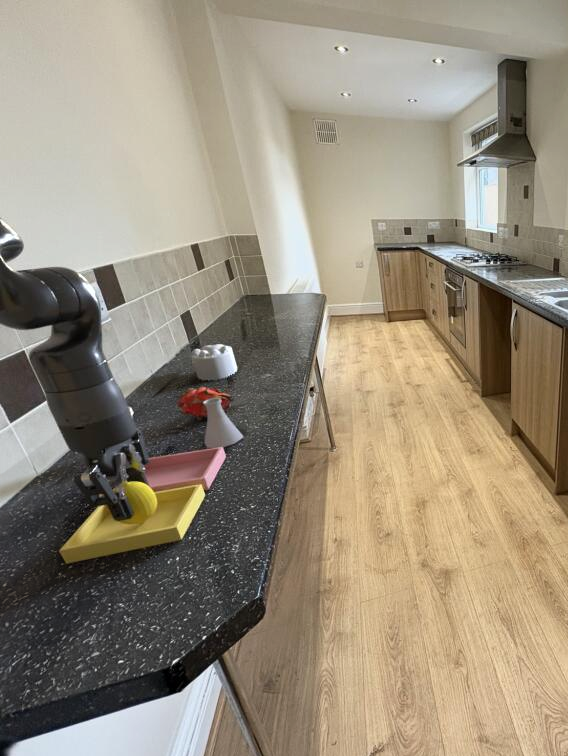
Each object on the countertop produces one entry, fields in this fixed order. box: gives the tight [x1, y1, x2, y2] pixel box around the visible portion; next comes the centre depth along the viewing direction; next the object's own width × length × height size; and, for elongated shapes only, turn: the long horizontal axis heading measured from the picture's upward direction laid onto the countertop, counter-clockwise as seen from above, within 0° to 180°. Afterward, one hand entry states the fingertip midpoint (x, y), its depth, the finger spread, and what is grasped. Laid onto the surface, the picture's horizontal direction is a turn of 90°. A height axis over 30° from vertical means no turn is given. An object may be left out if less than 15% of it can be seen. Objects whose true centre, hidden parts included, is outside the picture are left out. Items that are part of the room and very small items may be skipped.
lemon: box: [112, 482, 157, 525], centre depth 65 cm, size 6×6×8 cm
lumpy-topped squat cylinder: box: [190, 343, 238, 382], centre depth 130 cm, size 10×13×9 cm
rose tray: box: [112, 447, 227, 492], centre depth 78 cm, size 14×12×2 cm
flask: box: [203, 398, 244, 449], centre depth 90 cm, size 7×7×10 cm
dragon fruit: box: [176, 386, 235, 421], centre depth 102 cm, size 8×8×12 cm
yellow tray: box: [58, 484, 206, 565], centre depth 66 cm, size 14×12×2 cm
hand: (134, 505), depth 65 cm, fingers closed on lemon, 5 cm apart
